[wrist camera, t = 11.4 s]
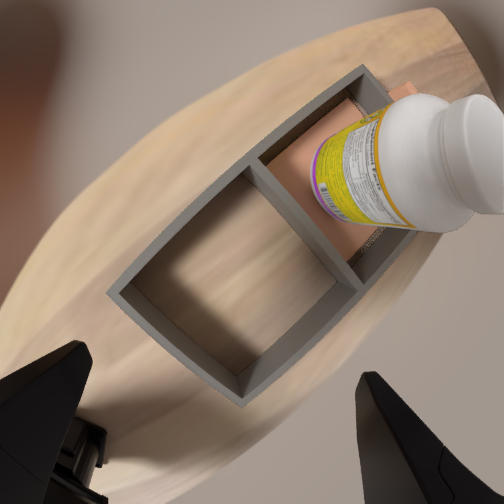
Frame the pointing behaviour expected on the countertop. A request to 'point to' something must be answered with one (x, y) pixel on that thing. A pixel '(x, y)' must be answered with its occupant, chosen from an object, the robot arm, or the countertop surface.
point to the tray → (306, 226)
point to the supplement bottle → (415, 165)
